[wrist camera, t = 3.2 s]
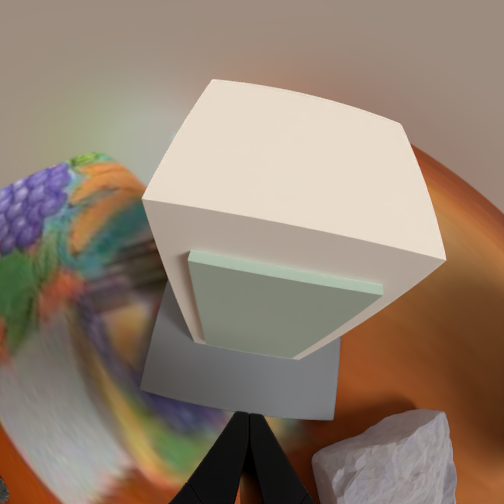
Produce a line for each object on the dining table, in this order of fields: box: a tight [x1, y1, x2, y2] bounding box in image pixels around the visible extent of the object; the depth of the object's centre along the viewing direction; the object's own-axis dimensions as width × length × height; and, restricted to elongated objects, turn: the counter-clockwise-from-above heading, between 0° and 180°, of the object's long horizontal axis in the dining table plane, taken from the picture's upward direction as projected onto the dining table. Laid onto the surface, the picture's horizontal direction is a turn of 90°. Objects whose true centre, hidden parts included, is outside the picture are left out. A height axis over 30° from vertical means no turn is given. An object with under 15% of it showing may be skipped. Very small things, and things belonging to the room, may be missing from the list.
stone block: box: [311, 409, 457, 504], centre depth 10 cm, size 12×5×10 cm
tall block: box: [142, 79, 446, 360], centre depth 11 cm, size 5×6×12 cm
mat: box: [139, 279, 341, 420], centre depth 19 cm, size 22×11×1 cm, turn 171°
